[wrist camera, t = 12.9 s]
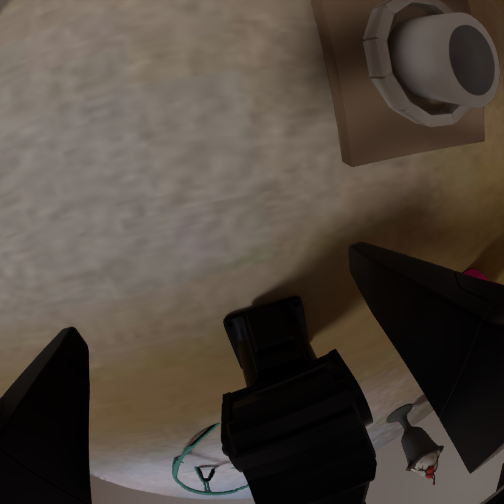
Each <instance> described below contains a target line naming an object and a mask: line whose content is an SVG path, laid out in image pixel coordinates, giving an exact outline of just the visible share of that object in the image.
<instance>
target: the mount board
mask: <svg viewBox="0 0 504 504" xmlns="http://www.w3.org/2000/svg"><path fill="white" fill-rule="evenodd" d="M311 3H312V7H313V11H314V14H315V18H316V22H317V26H318V30H319V35H320V39H321V43H322V48H323V52H324V57H325V61H326V66H327V71H328V76H329V81H330V86H331V92H332V97H333V103H334V108H335V114H336V121H337V127H338V133H339V140H340V147H341V155H342V162H344V163H346V164H348V165H349V166H351V167H355V166H360V165H364V164H368V163H373V162H378V161H382V160H387V159H392V158H396V157H401V156H406V155H411V154H416V153H421V152H426V151H432V150H437V149H442V148H448V147H453V146H459V145H465V144H471V143H477V142H483V141H485V126H484V107H481V108H473V107H468V106H463V105H459V104H454V103H448V102H443V101H437V100H431V99H425V98H420V97H417V96H414V95H412V94H411V93H409V92H408V91H407V90H405V89H404V88H403V87H402V85H401V84H400V83H399V82H398V80H397V79H396V77H395V75H394V73H393V71H392V67H391V61H390V56H389V50H388V40H389V36H390V34H391V32H392V30H393V28H394V27H395V26H396V25H397V24H398V23H399V22H401V21H403V20H407V19H412V18H418V17H425V16H432V15H439V14H448V13H458V12H461V13H466V14H469V15H471V13H470V9H469V5H468V1H467V0H311Z"/></svg>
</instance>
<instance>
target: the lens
mask: <svg viewBox="0 0 504 504" xmlns="http://www.w3.org/2000/svg"><path fill="white" fill-rule="evenodd" d="M388 50H389V56H390V61H391V67H392V71H393V73H394V75H395V77H396V79H397V80H398V82H399V83H400V84H401V85H402V87H403V88H404V89H405V90H407V91H408V92H409V93H411V94H412V95H414V96H417V97H420V98H425V99H431V100H437V101H443V102H448V103H454V104H459V105H463V106H468V107H473V108H481V107H484V106H486V105H487V104H489V103H490V102H491V100H492V99H493V98H494V96H495V94H496V91H497V88H498V84H499V76H500V69H499V60H498V55H497V51H496V48H495V46H494V43H493V41H492V39H491V37H490V35H489V33H488V32H487V30H486V29H485V28H484V26H483V25H482V24H481V23H480V22H479V21H478V20H477V19H475V18H474V17H472V16H471V15H469V14H466V13H461V12H458V13H448V14H439V15H432V16H425V17H418V18H412V19H407V20H403V21H401V22H399V23H398V24H397V25H396V26H395V27H394V28H393V30H392V32H391V34H390V36H389V40H388Z"/></svg>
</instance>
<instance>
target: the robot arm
mask: <svg viewBox="0 0 504 504" xmlns="http://www.w3.org/2000/svg"><path fill="white" fill-rule="evenodd" d="M349 267H350V272H351V275H352V277H353V278H354V280H355V282H356V284H357V286H358V288H359V290H360V292H361V293H362V295H363V297H364V299H365V301H366V303H367V305H368V307H369V309H370V310H371V312H372V314H373V315H374V317H375V318H376V320H377V321H378V323H379V324H380V326H381V327H382V329H383V330H384V332H385V333H386V335H387V336H388V338H389V339H390V341H391V342H392V344H393V345H394V347H395V348H396V350H397V351H398V353H399V354H400V356H401V358H402V359H403V361H404V362H405V364H406V365H407V367H408V369H409V370H410V372H411V373H412V375H413V376H414V378H415V380H416V381H417V383H418V384H419V386H420V388H421V389H422V391H423V393H424V394H425V396H426V398H427V399H428V401H429V402H430V404H431V406H432V407H433V409H434V411H435V412H436V414H437V416H438V417H439V418H440V421H441V423H442V425H443V427H444V428H445V430H446V432H447V433H448V435H449V437H450V439H451V441H452V442H453V444H454V446H455V448H456V449H457V451H458V453H459V455H460V456H461V459H462V460H463V462H464V464H465V466H466V468H467V470H468V471H469V473H472V472H474V471H475V470H477V469H478V468H479V467H481V466H482V465H483V464H485V463H486V462H487V461H489V460H490V459H491V458H493V457H494V456H495V455H496V454H498V453H499V452H500V451H501V450H502V449H504V285H502V284H498V283H494V282H491V281H487V280H483V279H480V278H476V277H473V276H470V275H467V274H464V273H461V272H458V271H453V270H451V269H448V268H445V267H442V266H439V265H436V264H433V263H430V262H427V261H423V260H420V259H417V258H414V257H411V256H407V255H404V254H401V253H398V252H394V251H391V250H388V249H384V248H381V247H378V246H374V245H371V244H368V243H364V242H358V243H355V244H352V245H350V246H349ZM295 302H297V303H295ZM294 303H295V304H294ZM228 322H232V323H229V324H228ZM223 323H224V327H225V330H226V332H227V335H228V337H229V340H230V342H231V345H232V347H233V350H234V352H235V355H236V357H237V359H238V362H239V364H240V367H241V368H242V369H243V373H244V378H245V382H246V386H247V387H246V388H243V389H241V390H238V391H235V392H232V393H230V392H228V393H226V394H223V403H222V416H221V442H222V444H223V445H222V451H223V453H224V454H225V455H226V456H228V457H229V459H230V461H231V462H232V464H233V465H234V467H235V468H236V469H237V470H238V471H239V472H243V474H244V476H245V478H246V480H247V482H248V485H249V488H250V490H251V493H252V496H253V499H254V501H255V504H366V502H365V498H366V495H367V491H368V487H369V483H370V482H371V481H373V480H374V478H375V473H376V465H377V462H376V459H375V458H376V454H375V450H374V448H373V445H372V443H371V440H370V438H369V435H368V433H367V430H366V428H365V426H367V425H369V424H371V423H373V418H372V414H371V411H370V408H369V406H368V403H367V401H366V399H365V396H364V394H363V392H362V390H361V388H360V386H359V384H358V382H357V381H356V379H355V377H354V376H353V374H352V373H351V371H350V370H349V368H348V367H347V365H346V364H345V362H344V361H343V359H342V358H341V356H340V355H339V353H338V352H337V350H336V349H334V350H332V351H330V352H329V353H328V354H326V355H324V356H322V357H320V358H317V357H316V355H315V353H314V351H313V349H312V347H311V344H310V342H309V340H308V335H307V328H306V322H305V316H304V309H303V303H302V300H301V298H300V297H298V296H294V297H291V298H288V299H285V300H281V301H278V302H275V303H272V304H269V305H265V306H262V307H259V308H255V309H252V310H249V311H245V312H242V313H239V314H235V315H232V316H228V317H226V318H225V319H224V320H223ZM89 398H90V380H89V349H88V346H87V344H86V342H85V341H84V339H83V338H82V336H81V335H80V334H79V332H78V331H77V329H76V328H75V327H68V328H64V329H62V330H61V331H60V332H59V333H58V335H57V336H56V337H55V338H54V339H53V340H52V341H51V342H50V343H49V344H48V345H47V346H46V347H45V348H44V349H43V351H42V352H41V353H40V354H39V355H38V356H37V357H36V358H35V359H34V360H33V361H32V363H31V364H30V365H29V366H28V367H27V368H26V369H25V370H24V372H23V373H22V374H21V375H20V376H19V377H18V378H17V380H16V381H15V382H14V383H13V384H12V385H11V386H10V388H9V389H8V390H7V391H6V392H5V394H4V395H3V396H2V397H1V398H0V504H92V499H91V487H90V469H89ZM481 504H504V463H503V465H502V470H501V474H500V478H499V482H498V486H497V489H496V492H495V493H494V494H492V495H491V496H490V497H488V498H487V499H486V500H484V501H483V502H482V503H481Z"/></svg>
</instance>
